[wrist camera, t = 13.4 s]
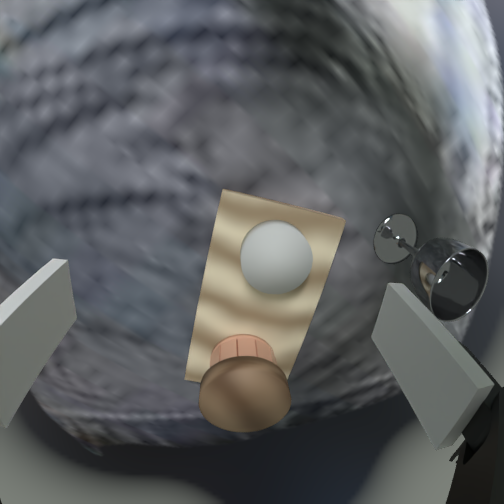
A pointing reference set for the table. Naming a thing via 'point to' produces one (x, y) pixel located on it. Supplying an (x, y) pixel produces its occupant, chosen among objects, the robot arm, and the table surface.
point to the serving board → (247, 297)
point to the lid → (244, 394)
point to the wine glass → (435, 267)
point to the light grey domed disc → (275, 257)
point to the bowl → (242, 348)
